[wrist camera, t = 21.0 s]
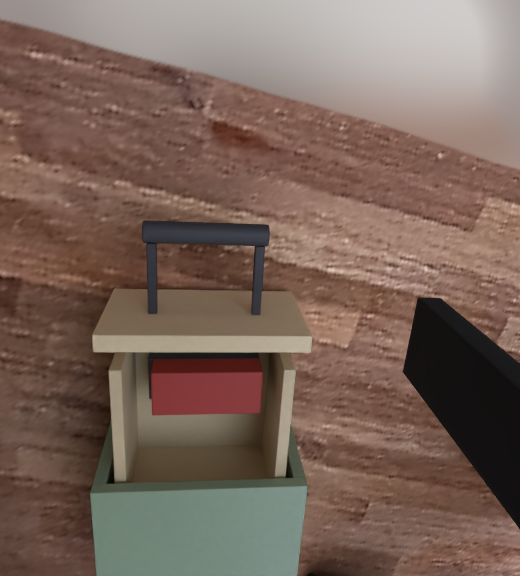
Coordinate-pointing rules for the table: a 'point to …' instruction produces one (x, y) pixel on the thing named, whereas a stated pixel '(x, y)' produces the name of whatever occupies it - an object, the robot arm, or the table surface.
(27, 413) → the table surface
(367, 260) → the table surface
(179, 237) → the drawer
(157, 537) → the cabinet
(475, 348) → the robot arm
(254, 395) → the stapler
